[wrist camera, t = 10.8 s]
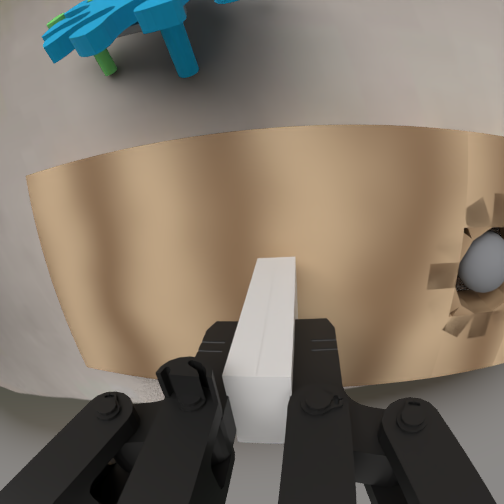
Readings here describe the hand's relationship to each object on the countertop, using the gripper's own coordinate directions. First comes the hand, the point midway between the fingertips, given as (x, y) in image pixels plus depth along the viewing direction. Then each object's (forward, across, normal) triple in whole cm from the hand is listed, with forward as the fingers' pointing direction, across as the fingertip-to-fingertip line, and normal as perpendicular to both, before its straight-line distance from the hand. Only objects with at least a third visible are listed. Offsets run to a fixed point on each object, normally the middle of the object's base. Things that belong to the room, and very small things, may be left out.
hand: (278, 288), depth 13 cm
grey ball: (+2, +10, 0) cm, 11 cm away
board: (+3, +3, 0) cm, 4 cm away
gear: (+4, -4, +13) cm, 14 cm away
